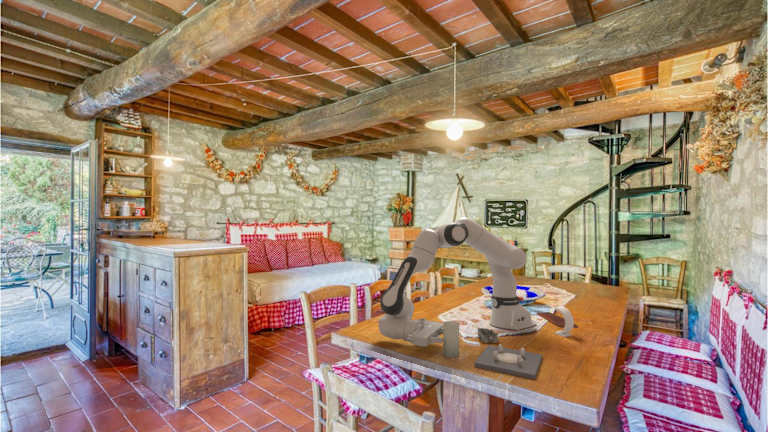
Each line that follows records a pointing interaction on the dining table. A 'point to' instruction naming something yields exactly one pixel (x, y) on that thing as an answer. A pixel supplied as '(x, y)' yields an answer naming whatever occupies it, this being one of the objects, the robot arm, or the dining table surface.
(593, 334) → the dining table surface
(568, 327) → the headphone stand
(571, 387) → the dining table surface
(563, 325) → the wooden tablet
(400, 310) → the robot arm
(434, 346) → the dining table surface
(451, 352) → the canister
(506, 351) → the peg stand
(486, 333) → the egg carton
